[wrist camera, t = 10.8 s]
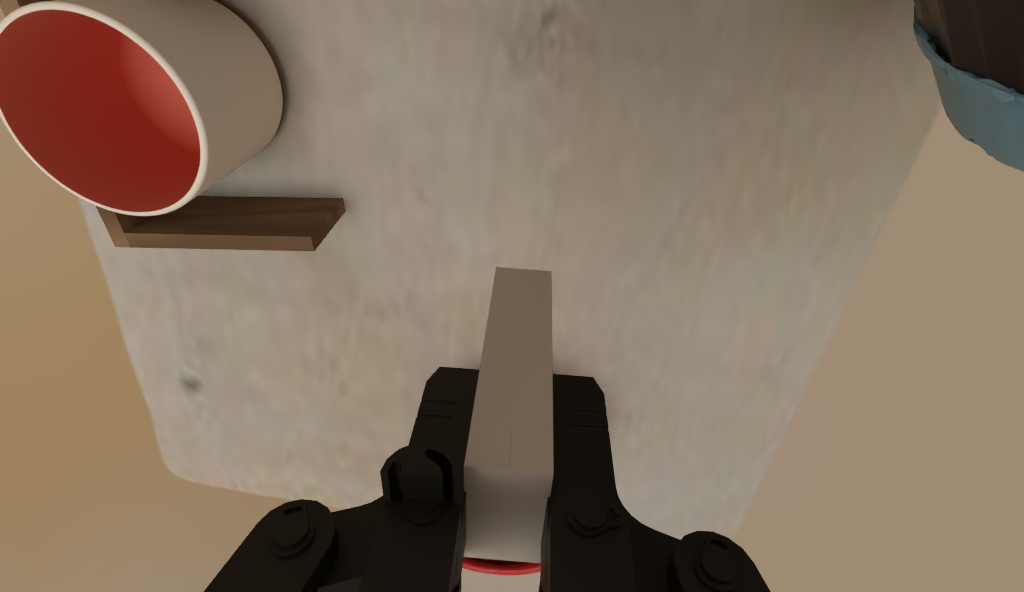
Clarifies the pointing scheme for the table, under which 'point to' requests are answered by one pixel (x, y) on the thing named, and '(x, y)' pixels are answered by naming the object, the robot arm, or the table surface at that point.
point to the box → (223, 217)
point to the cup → (136, 97)
